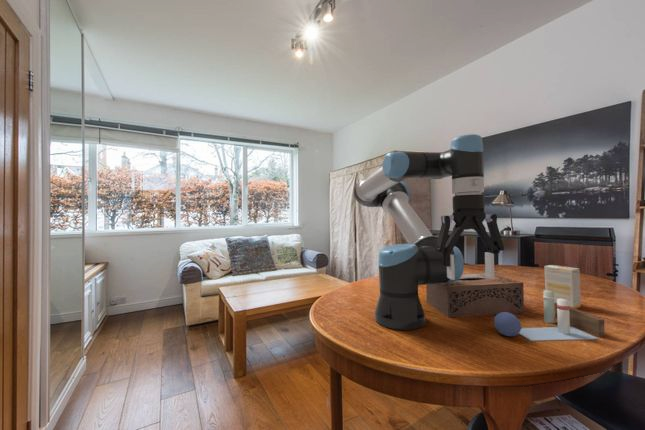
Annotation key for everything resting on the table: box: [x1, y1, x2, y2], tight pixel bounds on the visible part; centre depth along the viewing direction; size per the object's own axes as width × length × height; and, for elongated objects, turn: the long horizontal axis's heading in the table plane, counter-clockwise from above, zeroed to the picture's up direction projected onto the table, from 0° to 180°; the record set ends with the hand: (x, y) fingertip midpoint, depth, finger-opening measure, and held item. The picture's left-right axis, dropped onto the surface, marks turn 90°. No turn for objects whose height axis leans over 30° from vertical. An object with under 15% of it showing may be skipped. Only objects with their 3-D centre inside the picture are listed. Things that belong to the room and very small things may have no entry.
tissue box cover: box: [425, 272, 525, 318], centre depth 93 cm, size 26×14×10 cm, turn 94°
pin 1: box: [542, 289, 556, 324], centre depth 78 cm, size 2×2×9 cm
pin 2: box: [556, 299, 571, 335], centre depth 71 cm, size 2×2×9 cm
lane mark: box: [518, 326, 599, 342], centre depth 71 cm, size 17×7×1 cm, turn 90°
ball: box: [493, 312, 522, 337], centre depth 71 cm, size 6×6×6 cm
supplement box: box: [543, 264, 582, 309], centre depth 92 cm, size 8×5×13 cm, turn 22°
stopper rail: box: [554, 303, 606, 338], centre depth 75 cm, size 2×13×4 cm, turn 0°
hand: (470, 277), depth 71 cm, fingers open, 10 cm apart
